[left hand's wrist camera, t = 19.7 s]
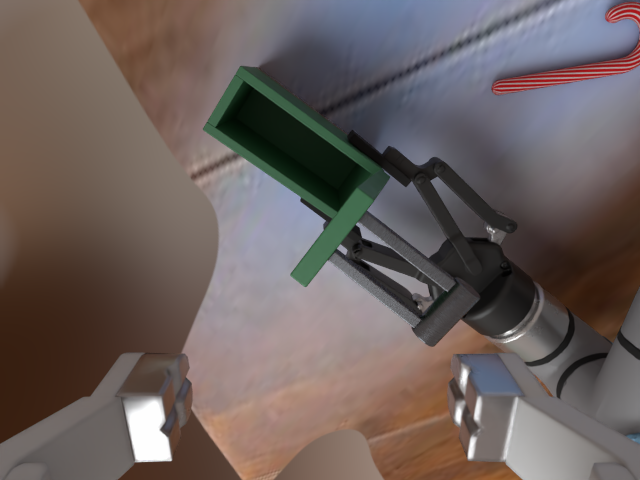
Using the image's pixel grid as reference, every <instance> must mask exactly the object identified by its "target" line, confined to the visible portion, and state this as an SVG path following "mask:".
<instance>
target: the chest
mask: <svg viewBox="0 0 640 480" xmlns="http://www.w3.org/2000/svg"><path fill="white" fill-rule="evenodd" d="M203 130H204V131H205V132H207V133H208V134H210V135H211V136H212V137H214V138H215V139H217V140H218V141H220V142H221V143H223V144H224V145H226V146H227V147H229V148H230V149H231V150H233V151H234V152H236V153H237V154H239V155H240V156H242V157H243V158H245V159H246V160H248V161H249V162H250V163H252V164H253V165H255V166H256V167H258V168H259V169H261V170H262V171H264V172H265V173H267V174H268V175H269V176H271V177H272V178H274V179H275V180H277V181H278V182H280V183H281V184H283V185H284V186H286V187H287V188H288V189H290V190H291V191H293V192H294V193H296V194H297V195H299V196H300V197H302V198H303V199H304V200H306V201H307V202H309V203H310V204H312V205H313V206H315V207H316V208H318V209H319V210H321V211H322V212H323V213H325V214H326V215H328V216H329V217H331V218H332V219H333V218H334V216H335V215H336V214H337V212H338V211H339V210H340V208H341V207H342V206H343V205H344V203H345V202H346V201H347V199H348V198H349V197H350V195H351V194H352V193H353V191H354V190H355V189H356V188H357V187H358V186H359V185H360V184H362V183H363V182H364V181H366V180H367V179H368V178H370V177H371V176H372V175H373V174H375V173H376V172H377V171H379V170H382V171H383V172H384V170H383V169H382V167H381V166H379V165H378V164H377V163H376V162H374V161H373V160H372V159H371V158H369V157H368V156H367V155H366V154H364V153H363V152H362V151H361V150H360V149H358V148H357V147H356V146H355V145H353V144H352V143H351V142H350V141H349V140H348V138H347V136H348V134H347V133H346V132H344V131H343V130H342V129H340V128H339V127H337V126H336V125H335V124H333V123H332V122H331V121H329V120H328V119H327V118H325V117H324V116H323V115H321V114H320V113H319V112H317V111H316V110H315V109H313V108H312V107H311V106H309V105H308V104H306V103H305V102H304V101H302V100H301V99H300V98H298V97H297V96H296V95H294V94H293V93H292V92H290V91H289V90H288V89H286V88H285V87H284V86H282V85H281V84H280V83H278V82H277V81H275V80H274V79H273V78H271V77H270V76H269V75H267V74H266V73H265V72H263V71H262V70H261V69H259V68H258V67H256V68H255V67H246V66H240V68H239V69H238V71H237V73H236V75H235V76H234V78H233V79H232V81H231V83H230V84H229V86H228V88H227V89H226V91H225V93H224V94H223V96H222V98H221V99H220V101H219V103H218V104H217V106H216V108H215V109H214V111H213V113H212V115H211V116H210V118H209V120H208V122H207V123H206V125H205V126H204V128H203Z"/></svg>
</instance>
